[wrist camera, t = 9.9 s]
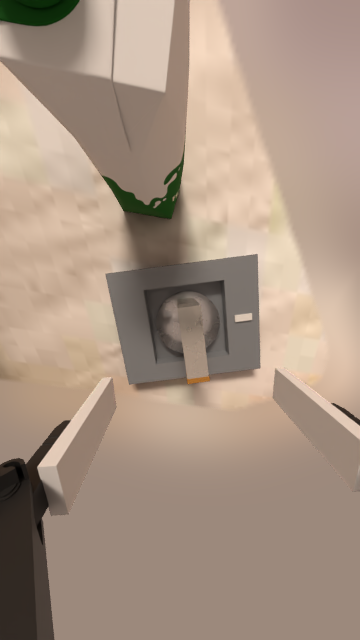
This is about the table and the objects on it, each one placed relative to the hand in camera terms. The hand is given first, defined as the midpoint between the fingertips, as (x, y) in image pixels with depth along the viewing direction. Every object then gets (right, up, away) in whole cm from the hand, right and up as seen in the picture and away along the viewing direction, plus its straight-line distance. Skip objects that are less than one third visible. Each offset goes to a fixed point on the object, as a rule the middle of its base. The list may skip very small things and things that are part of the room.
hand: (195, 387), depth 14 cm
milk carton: (-5, +24, +11) cm, 27 cm away
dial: (0, +5, +15) cm, 16 cm away
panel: (0, +5, +15) cm, 16 cm away
